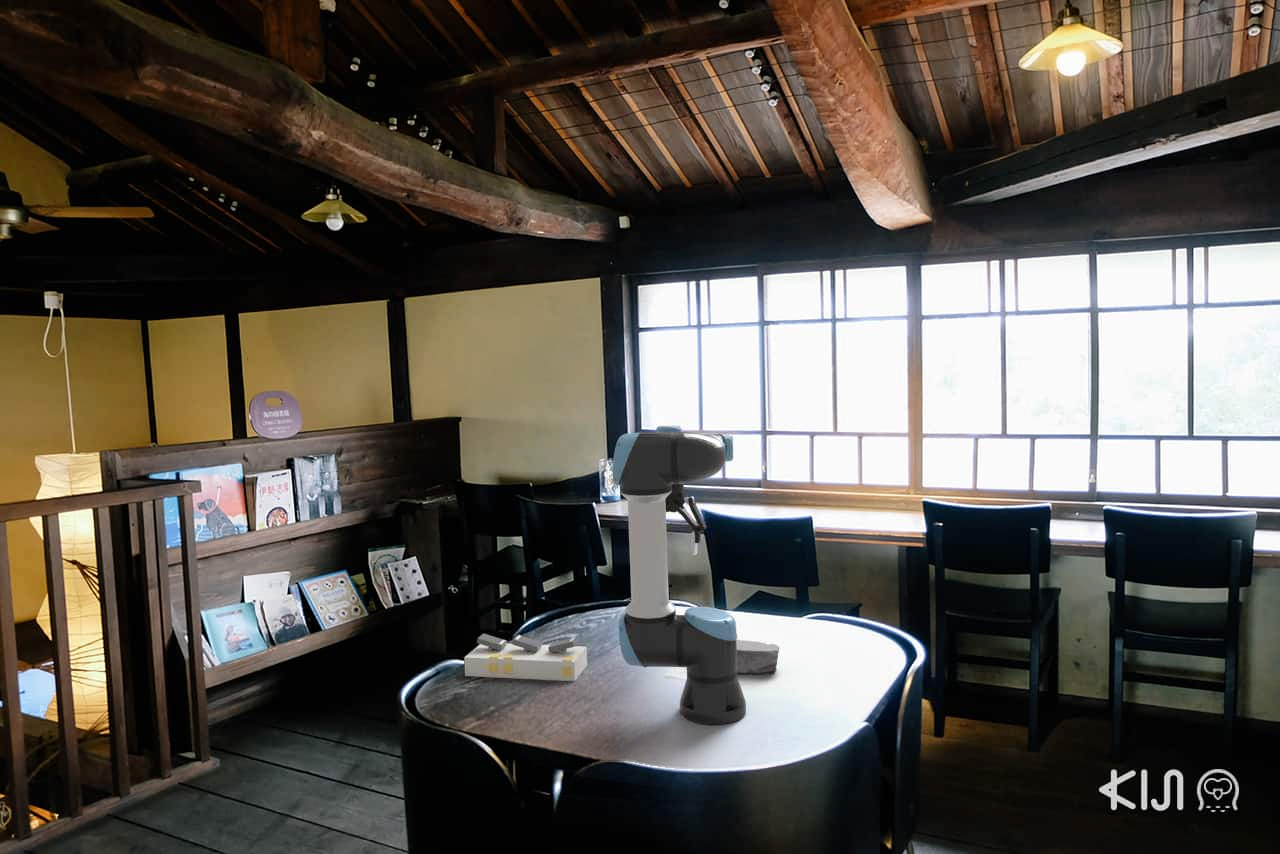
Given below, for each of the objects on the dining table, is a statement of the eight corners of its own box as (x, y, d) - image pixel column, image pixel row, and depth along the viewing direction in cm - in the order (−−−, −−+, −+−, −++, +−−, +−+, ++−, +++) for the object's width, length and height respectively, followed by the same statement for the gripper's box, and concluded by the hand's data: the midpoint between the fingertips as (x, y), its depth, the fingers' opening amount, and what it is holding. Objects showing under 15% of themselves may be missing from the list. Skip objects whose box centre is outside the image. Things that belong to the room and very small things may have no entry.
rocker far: (500, 650, 217) (502, 645, 217) (476, 643, 218) (477, 637, 218) (506, 645, 221) (507, 640, 221) (482, 638, 222) (483, 632, 222)
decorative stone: (720, 665, 217) (725, 677, 207) (720, 639, 217) (725, 650, 207) (775, 664, 218) (782, 676, 208) (775, 638, 218) (782, 649, 208)
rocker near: (573, 646, 213) (572, 641, 213) (549, 652, 214) (547, 647, 214) (578, 641, 217) (576, 636, 217) (554, 647, 218) (552, 642, 218)
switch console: (574, 681, 208) (573, 658, 207) (464, 676, 214) (463, 653, 213) (587, 664, 220) (586, 643, 219) (482, 660, 226) (482, 638, 225)
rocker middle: (536, 652, 215) (537, 646, 215) (512, 644, 216) (513, 638, 216) (541, 647, 219) (542, 641, 219) (517, 639, 220) (518, 634, 220)
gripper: (716, 478, 231) (717, 552, 232) (635, 477, 240) (637, 548, 241) (708, 482, 224) (710, 558, 225) (625, 480, 233) (627, 553, 235)
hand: (672, 553), depth 233 cm, fingers open, 13 cm apart
